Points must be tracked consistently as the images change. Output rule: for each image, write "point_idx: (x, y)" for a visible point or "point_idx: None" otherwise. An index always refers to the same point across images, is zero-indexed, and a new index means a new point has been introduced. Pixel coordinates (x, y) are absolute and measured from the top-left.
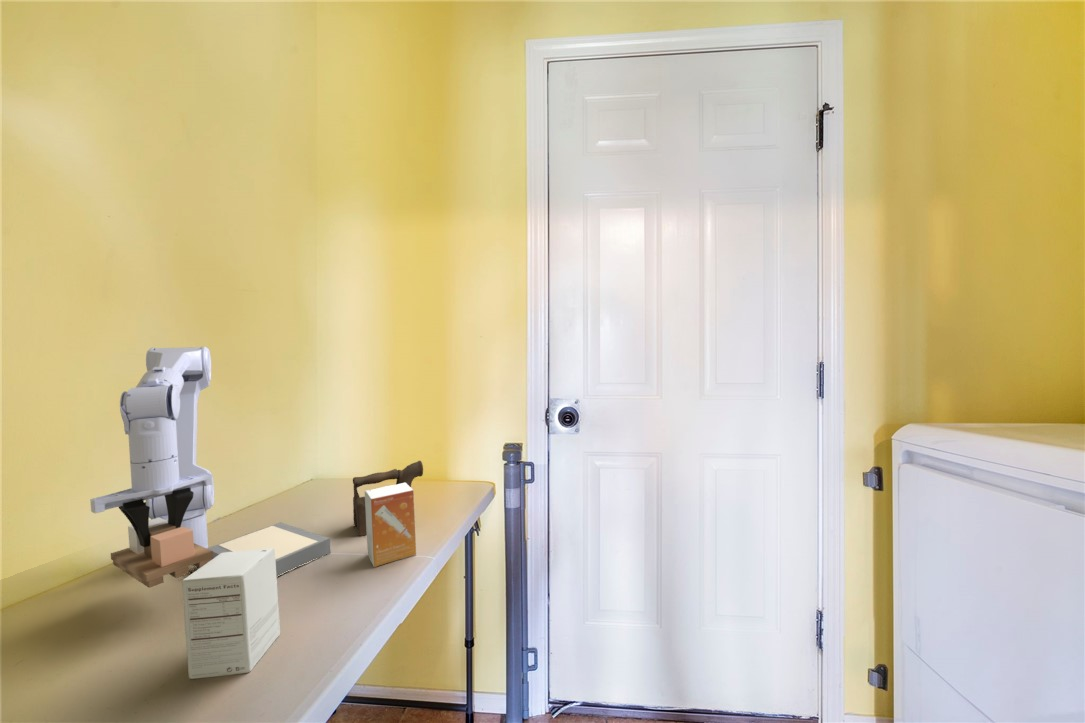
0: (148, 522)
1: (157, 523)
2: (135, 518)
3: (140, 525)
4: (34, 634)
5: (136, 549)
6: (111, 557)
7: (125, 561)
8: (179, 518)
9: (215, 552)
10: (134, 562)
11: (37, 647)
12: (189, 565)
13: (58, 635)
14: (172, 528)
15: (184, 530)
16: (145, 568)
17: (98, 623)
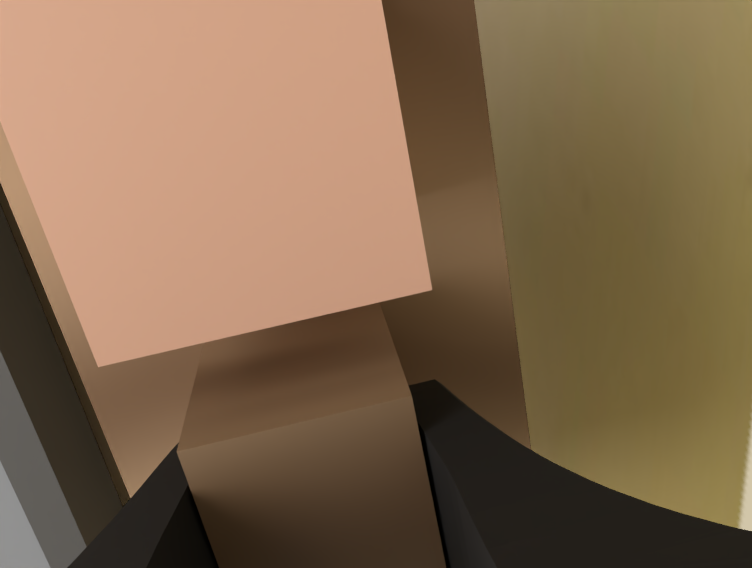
0: (466, 499)
1: None
2: (675, 520)
3: (550, 471)
4: (696, 387)
5: None
6: None
7: (520, 405)
8: (114, 553)
9: (38, 548)
10: (480, 326)
11: (703, 253)
12: None
13: (644, 300)
14: (210, 436)
15: (69, 127)
16: (440, 69)
17: (532, 284)
